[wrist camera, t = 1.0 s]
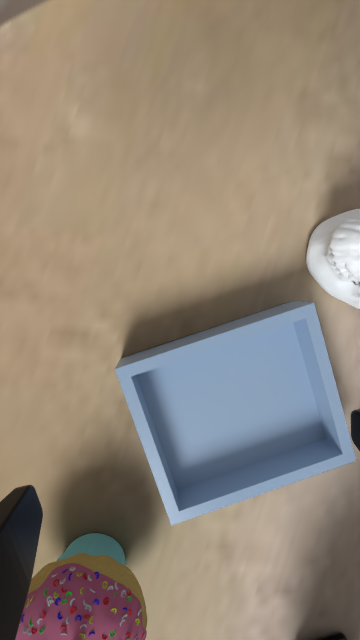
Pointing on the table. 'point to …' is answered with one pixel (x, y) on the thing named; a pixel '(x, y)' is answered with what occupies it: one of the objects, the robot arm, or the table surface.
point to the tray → (237, 409)
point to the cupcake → (85, 596)
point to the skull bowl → (337, 256)
